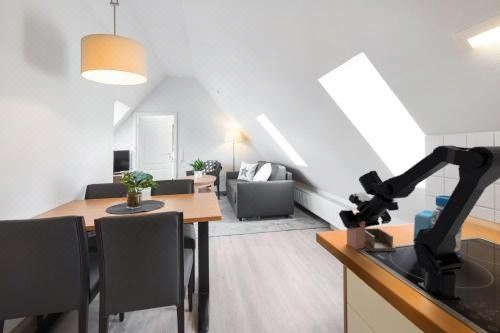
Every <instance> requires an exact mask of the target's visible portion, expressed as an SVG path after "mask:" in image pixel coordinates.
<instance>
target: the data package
mask: <svg viewBox="0 0 500 333" xmlns="http://www.w3.org/2000/svg"><path fill="white" fill-rule="evenodd" d="M433 212H434V210H433V211H432V210H427V209H426V210H423V211H420V212H418V213H416V214H415V215H414V225H413V226H414V227H413V240H414V239H415V238H416V237H417V235H418V232H419V230H420V229H425V228H432V224H431V222H432V219H433V216H432V214H433ZM415 242H416V241H413V244H414V243H415Z"/></svg>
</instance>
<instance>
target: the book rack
mask: <svg viewBox="0 0 500 333" xmlns="http://www.w3.org/2000/svg"><path fill="white" fill-rule="evenodd" d="M365 248H367V249H368V250H369V249H370V251H371V252H388V251H389V252H390V251H391V252H394V251H396V252H397V247H395V246H394V236H393V235H391V233H388V232H386V231H385V230H383V229H382V228H377V227H376V228H372V227H370V228H369V227H365Z"/></svg>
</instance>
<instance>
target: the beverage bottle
mask: <svg viewBox="0 0 500 333" xmlns="http://www.w3.org/2000/svg"><path fill="white" fill-rule="evenodd" d="M450 196H451V195H436V197H435V206H436V208H435V209H434V210H433V211H434V212H433V214H432V216H433V219H432V222H431V224H432V227H433V226H434V224H435V222H436V220H437V219H438V217H439V215H440V213H441V212H442V210H443V208H444V206H445V205H446V203H447V201H448V199H449V198H450ZM462 229H463V225H462V226H461V228H460V229H459V231H458V232H457V234H456V236H455V238H456V247H455V250H454V251H455V252H456V254H457V255H458V256H459V257H460V256H461V244H462V233H463V232H462Z"/></svg>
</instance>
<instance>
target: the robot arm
mask: <svg viewBox="0 0 500 333" xmlns="http://www.w3.org/2000/svg"><path fill="white" fill-rule="evenodd" d="M448 165H452V166H457V167H458V177H459V180H458V182H457V184H456V186H455V187H454V189H453V190H452V193H451V194H450V195H449V196H450V198H449V199H448V201H447V203H446V205H445V206H444V208H443V210H442V212H441V213H440V215H439V217H438V219H437V220H436V222H435V224H434V226H433V227H432V228H425V229H420V230H419V232H418V235H417V237H416V238H415V239H414V238H413V249H414V251H415V255H416V259H417V263H418V267H419V268H420V269H423V282H418V286H419V287H420V288H422V289H423V290H424V291H425V292H427V293H428V295H430V296H432V297H433V298H434V299H436V300H443V299H445V300H446V299H447V300H449V299H461V298H462V296H461V295H460V294H459V293H457V292H456V280H457V279H456V278H457V276H456V275H457V274H456V273H455V272H456V271H462V269H463V268H464V266H465V263H464V262H463V260H462V259H461V258H460V256H458V255H457V254H456V252H455V251H454V250H455V247H456V238H455V236H456V234H457V232H458V231H459V229H460V228H461V226H462V227H463V224H464V223H465V221H466V219H468V216H469V215H470V214H471V212H472V211H473V209H474V207H475V206H476V204H477V203H478V201H479V199H480V197H481V196H482V195H483V193H484V192H485V190H486V189H487V188H488V187H489V186H491V185H492V184H493V183H495V182H496V181H498V180H499V179H500V146H499V145H495V146H492V145H491V146H485V145H484V146H481V145H480V146H473V147H463V146H461V147H460V146H456V145H453V144H452V145H439V146H436V147H435V148H434V149H433V150H432V151H431V152H430V153H428V154H427V155H426V156H425V157H423V158H421V159H420V160H418V161H417V162H416V163H415V164H414V165H412V166H411V167H409V168H408V169H407V170H405V171H404V172H403V173H401V174H399V175H396V176H392V177H389V178H388V179H385V180H384V181H383V180H382V179H381V177H380V176H379V175H378V172H377V171H376V170H370V171H369V172H366V173H364V174H362V175H360V176H359V178H358V182H359V183H360V185H361V186H362V188H363V190H364V192H362V191H361V192H354V193H351V194H350V195H349V197H348V201H349V202H350V203H352V204H353V205H355V206H356V209H355V210H357V211H359V212H356V215H354V213H353V211H352V209H351V208H349V209H341V210H340V212H339V213H338V215H339V217H340V220H341V223H342V224H343V226H344V227H345V228H346V229H347V228H348V229H354V228H359V227H360V225H359V224H360V223H361V222H362V221H365V228H369V227H374V226H379V225H380V223H381V224H382V225H385V224H389V223H390V222H392V216H391V214H390V212H391V211H399V204H398V201H396V200H395V199H404V198H405V199H406V198H408V197H409V196H410V195H411V194H412V193H413V192H414V191H415V189H416V187H417V186H418V185H419V184H420V183H421V182H423V181H425V180H426V179H428V178H429V177H431V176H432V175H434V174H436V173H437V172H438V171H440V170H442V169H443V168H444V167H446V166H448ZM369 195H371V196H372V197H371V198H370V196H369ZM388 211H389V212H388ZM380 219H381V221H380V222H379V220H380ZM414 241H416V242H415V243H414Z"/></svg>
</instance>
